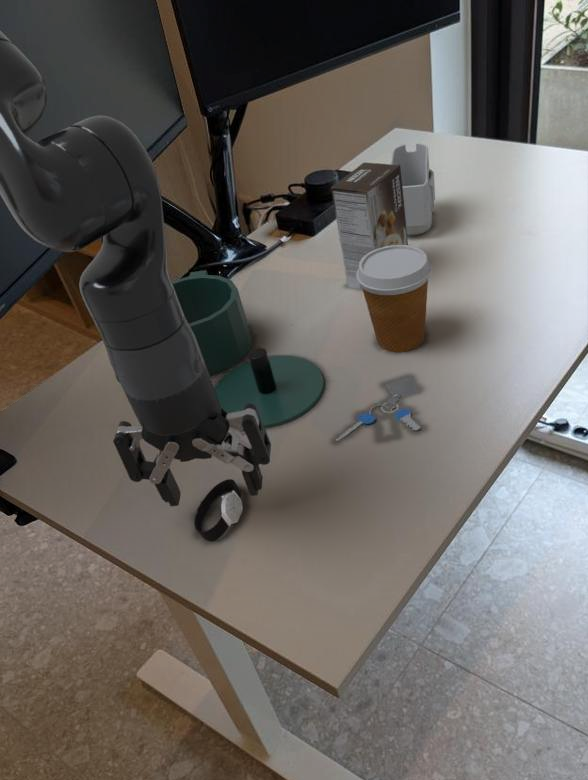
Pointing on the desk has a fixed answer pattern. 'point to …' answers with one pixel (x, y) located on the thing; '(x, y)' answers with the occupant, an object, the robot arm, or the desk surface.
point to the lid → (271, 387)
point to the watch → (229, 508)
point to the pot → (215, 318)
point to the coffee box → (369, 213)
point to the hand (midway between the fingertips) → (215, 495)
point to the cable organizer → (416, 187)
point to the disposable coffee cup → (396, 294)
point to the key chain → (397, 391)
